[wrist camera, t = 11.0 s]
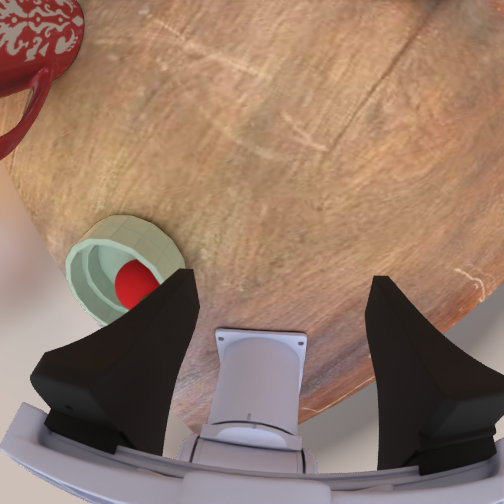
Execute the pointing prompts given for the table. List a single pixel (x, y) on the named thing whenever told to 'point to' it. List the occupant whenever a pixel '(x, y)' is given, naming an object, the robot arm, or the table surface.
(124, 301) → the tomato
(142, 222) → the bowl
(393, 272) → the table surface
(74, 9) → the mug
